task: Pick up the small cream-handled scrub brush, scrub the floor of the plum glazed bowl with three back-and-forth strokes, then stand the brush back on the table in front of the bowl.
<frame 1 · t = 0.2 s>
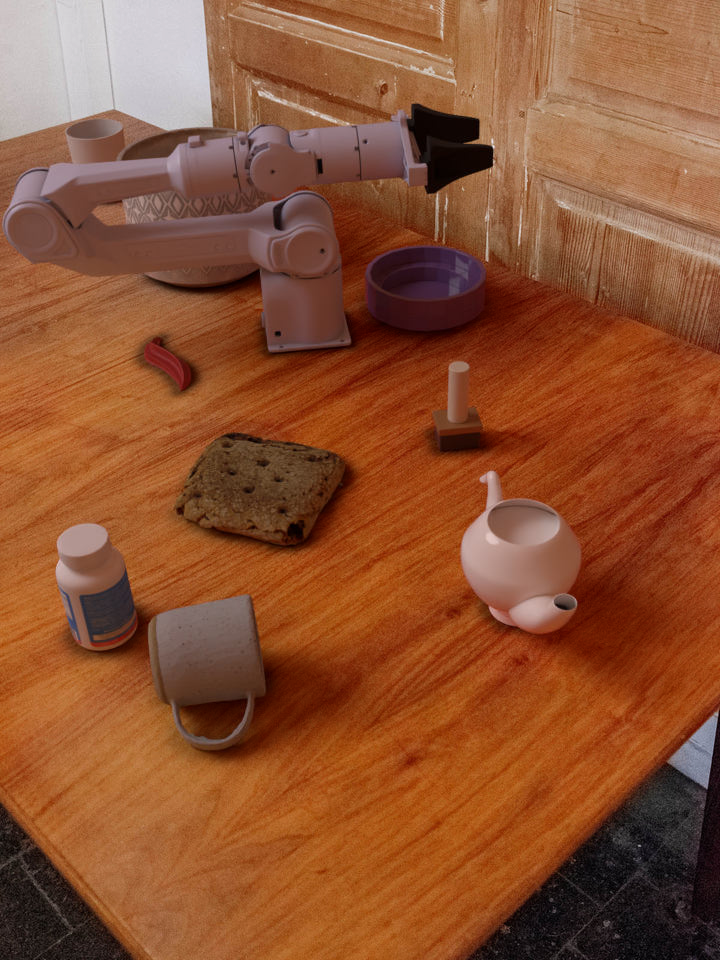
hand: (485, 142, 116), 22 cm above the table, tool horizontal, fingers open, 7 cm apart
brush: (456, 440, 110), on the table
pastry: (261, 493, 104), on the table
bowl: (425, 305, 132), on the table
cup: (106, 197, 161), on the table
pill bottle: (105, 630, 91), on the table
cayenne pepper: (167, 365, 123), on the table
planter: (205, 262, 143), on the table
teapot: (515, 608, 91), on the table
ceramic mug: (218, 700, 84), on the table
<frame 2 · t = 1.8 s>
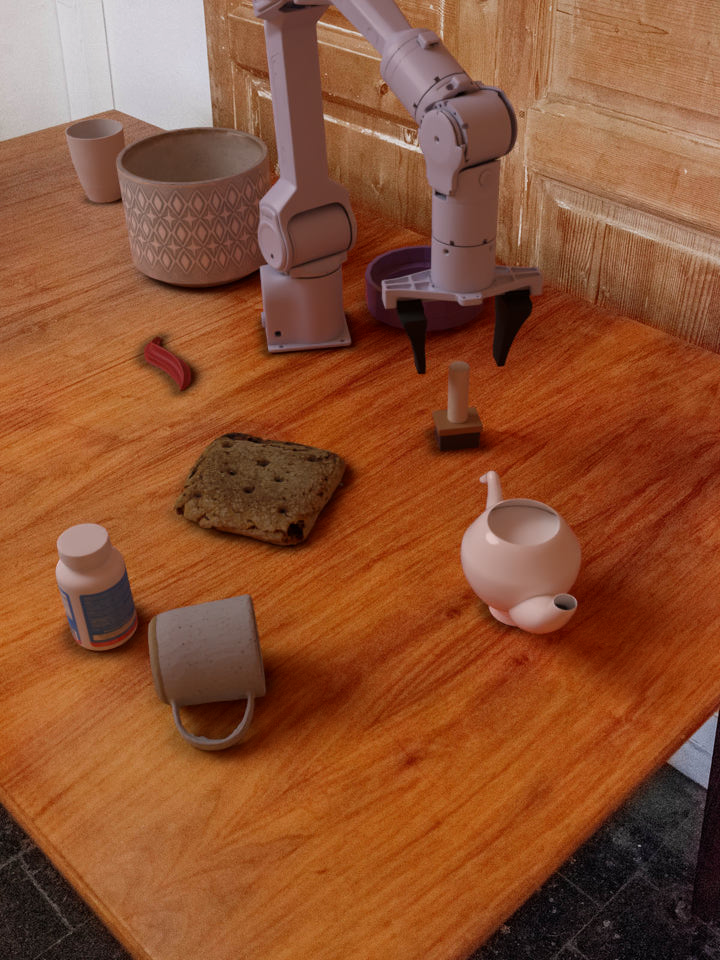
hand: (459, 365, 105), 9 cm above the table, tool pointing down, fingers open, 7 cm apart
nothing on the table moved.
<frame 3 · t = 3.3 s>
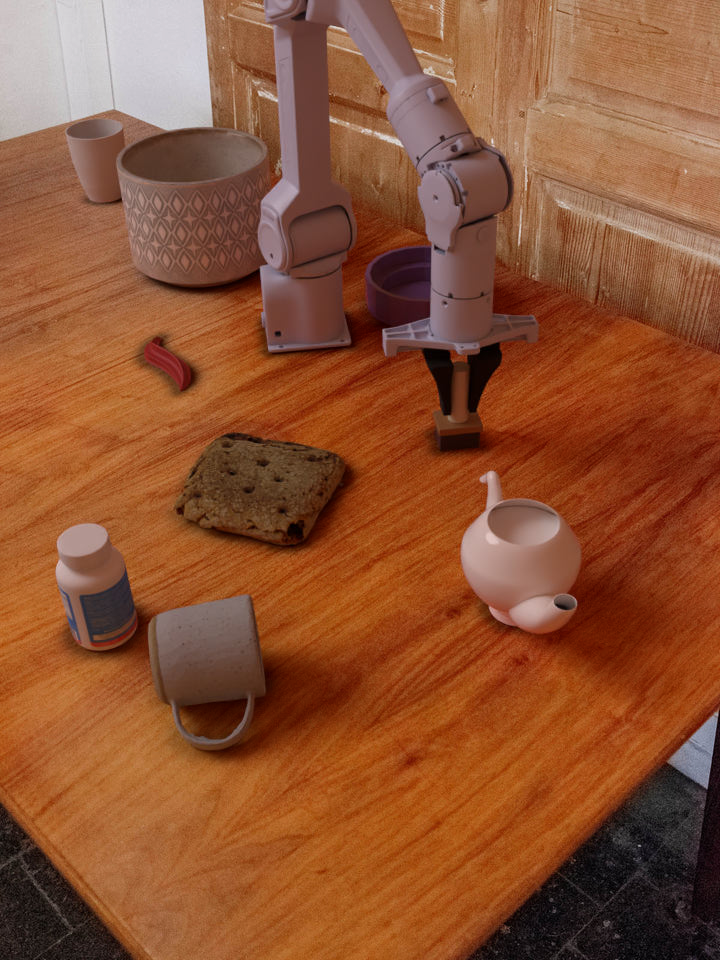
hand: (457, 408, 108), 4 cm above the table, tool pointing down, fingers closed on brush, 2 cm apart
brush: (456, 440, 110), on the table, touching gripper
everything else where it was.
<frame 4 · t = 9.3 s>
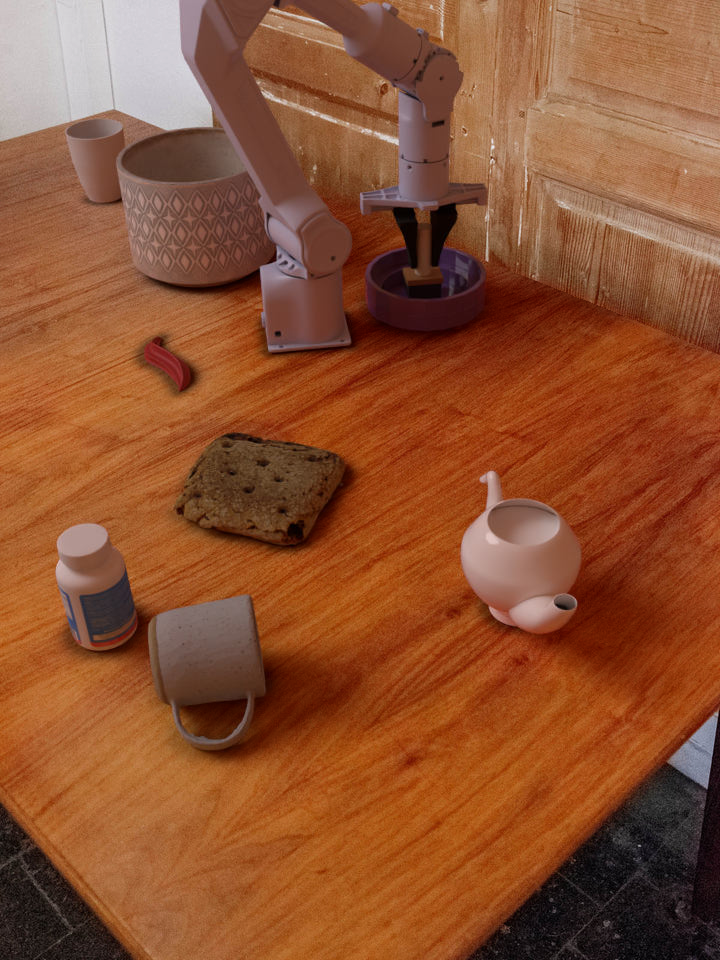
hand: (423, 264, 131), 5 cm above the table, tool pointing down, fingers closed on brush, 2 cm apart
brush: (422, 293, 133), point 1 cm above the table, touching gripper
everything else where it was.
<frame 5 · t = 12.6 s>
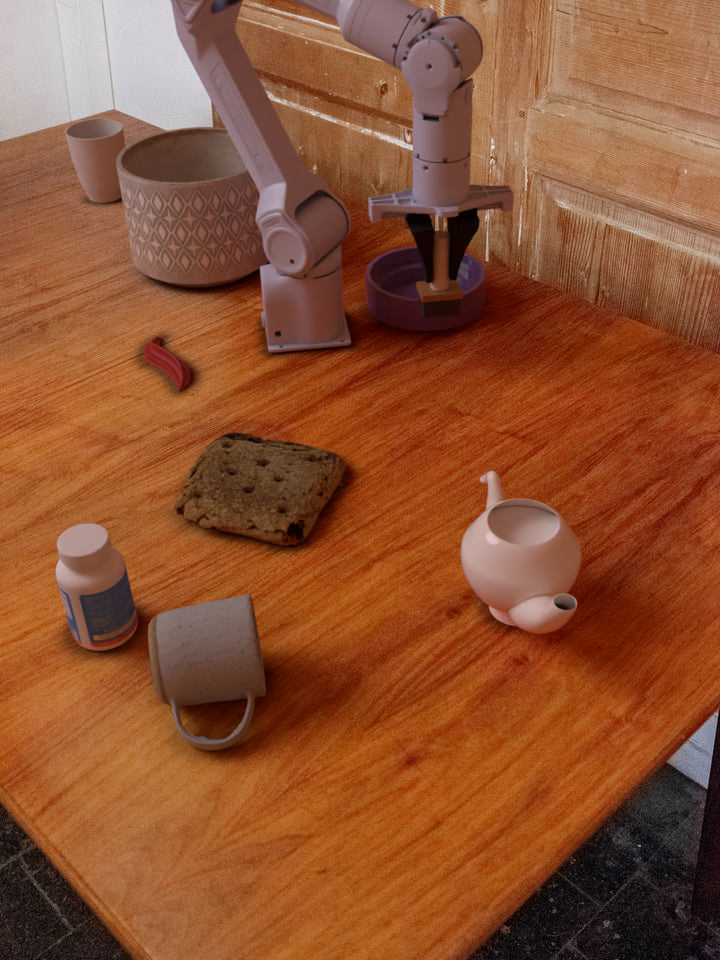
hand: (439, 277, 116), 10 cm above the table, tool pointing down, fingers closed on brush
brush: (439, 310, 118), point 7 cm above the table, touching gripper
everything else where it was.
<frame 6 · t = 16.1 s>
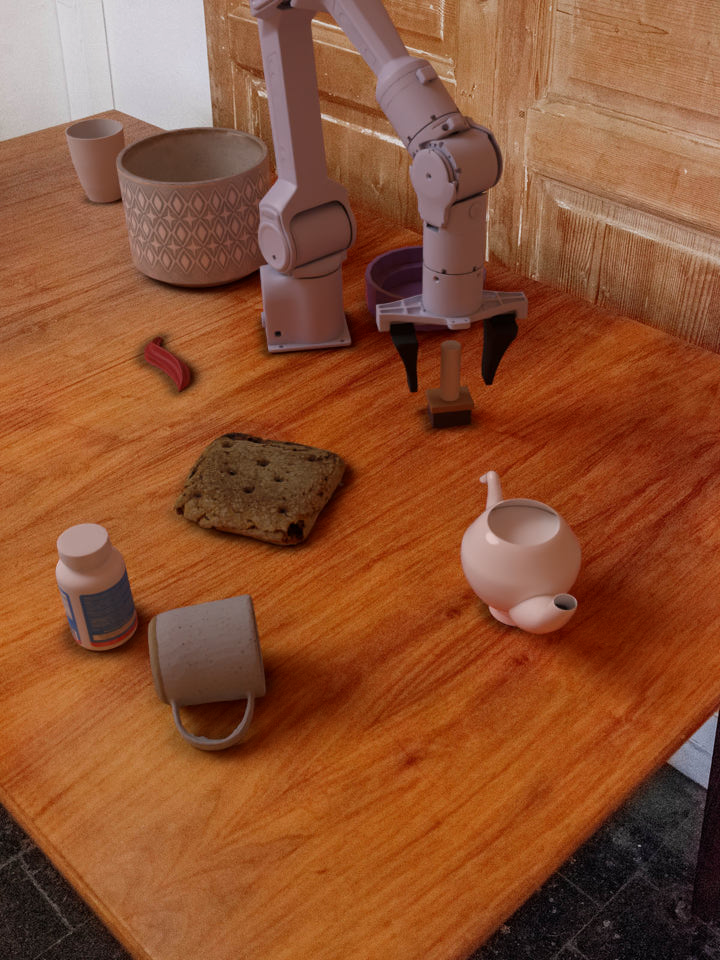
hand: (449, 383, 111), 4 cm above the table, tool pointing down, fingers open, 7 cm apart
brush: (449, 418, 113), on the table
everything else where it was.
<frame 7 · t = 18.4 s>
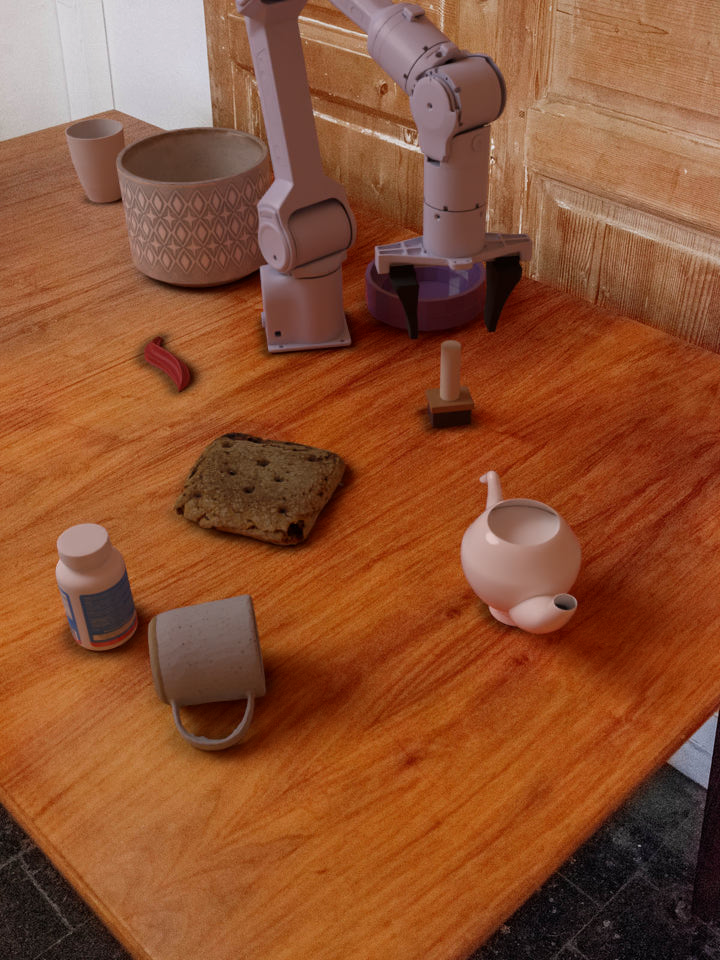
hand: (451, 330, 107), 10 cm above the table, tool pointing down, fingers open, 7 cm apart
nothing on the table moved.
at the end: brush inside the target area on the table beside the bowl (0.0 cm from its centre), on the table; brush tilted 0°; the gripper is holding nothing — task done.
